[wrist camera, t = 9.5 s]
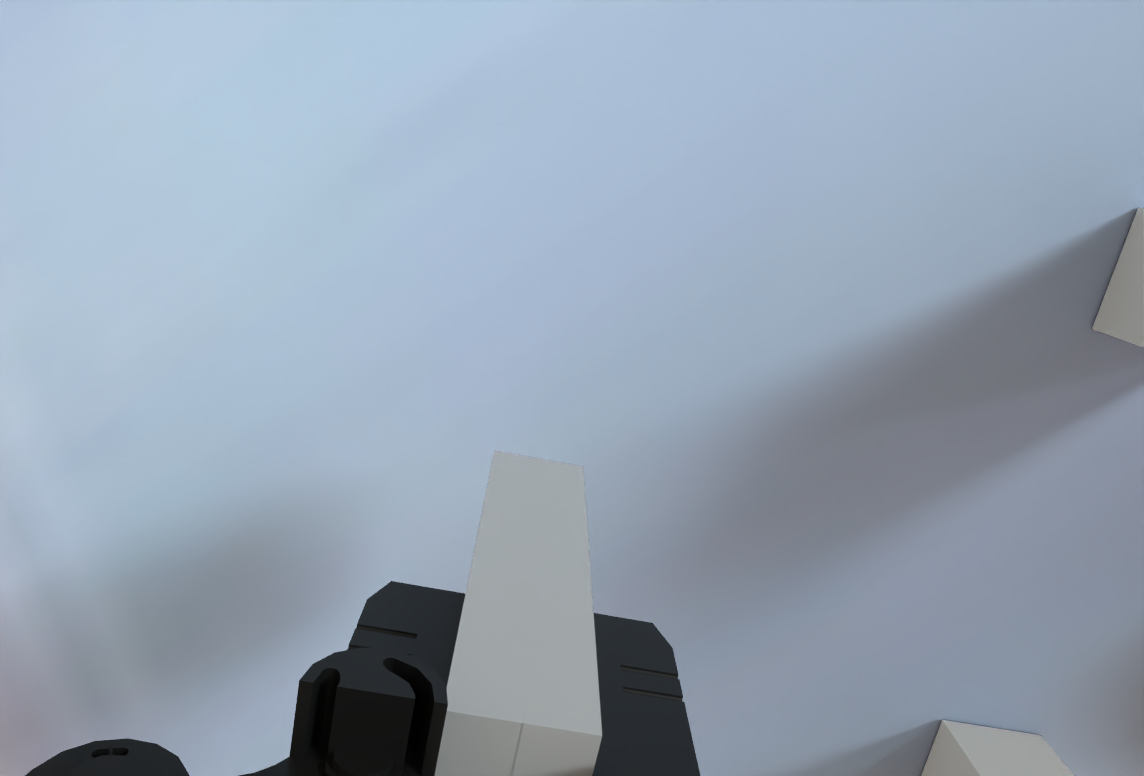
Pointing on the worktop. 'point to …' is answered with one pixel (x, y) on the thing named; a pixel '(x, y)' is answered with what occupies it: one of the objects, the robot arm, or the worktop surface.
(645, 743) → the robot arm
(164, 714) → the worktop surface
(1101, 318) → the post
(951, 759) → the post
